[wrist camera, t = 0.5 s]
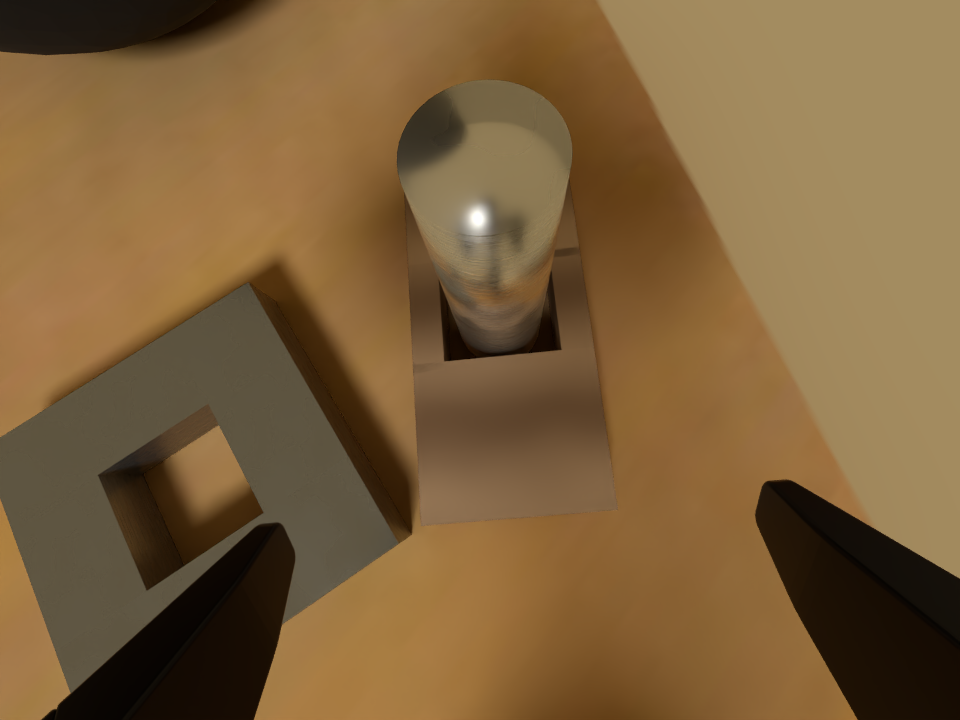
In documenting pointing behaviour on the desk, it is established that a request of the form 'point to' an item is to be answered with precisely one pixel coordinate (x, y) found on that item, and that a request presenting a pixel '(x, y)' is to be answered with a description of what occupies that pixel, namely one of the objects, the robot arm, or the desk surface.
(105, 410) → the block
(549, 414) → the wooden block with hole
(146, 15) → the sphere
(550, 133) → the steel axle
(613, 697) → the desk surface
